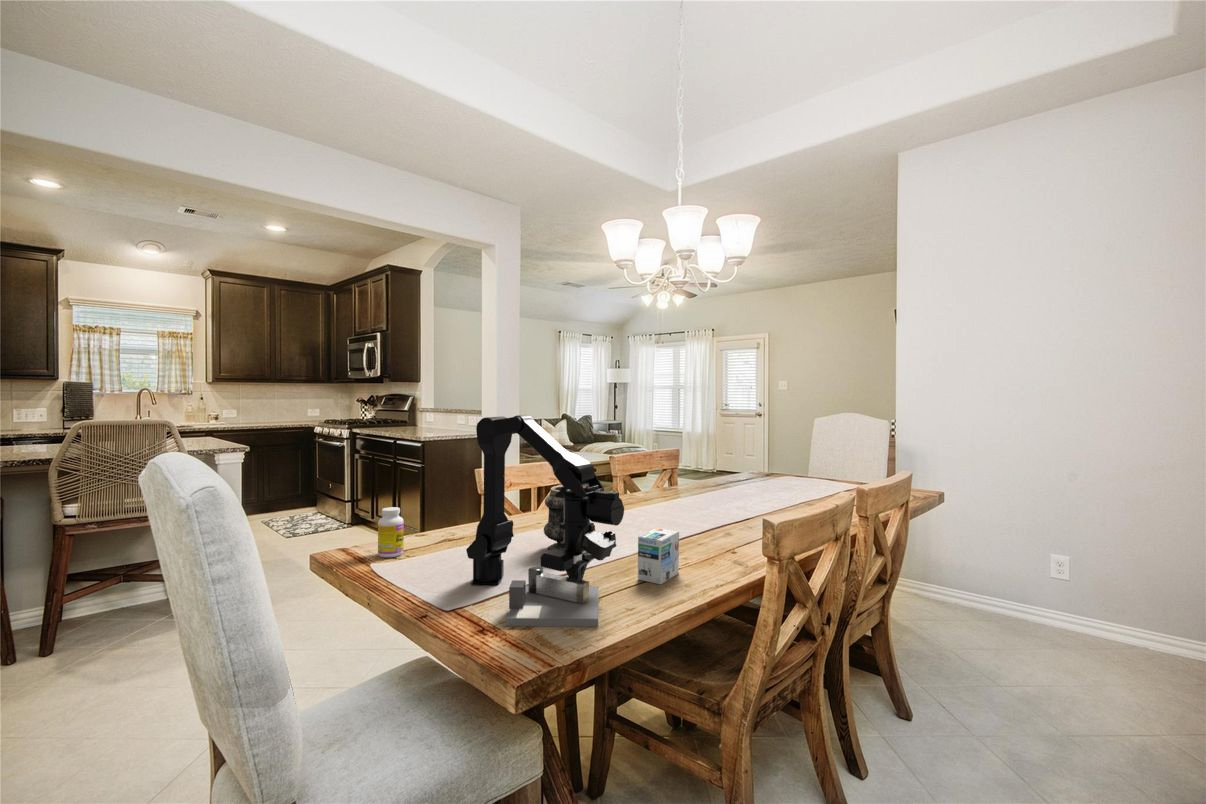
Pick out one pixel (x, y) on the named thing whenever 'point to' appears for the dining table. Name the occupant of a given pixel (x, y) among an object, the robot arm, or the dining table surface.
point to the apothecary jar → (555, 518)
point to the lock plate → (550, 608)
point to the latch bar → (557, 586)
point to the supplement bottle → (390, 533)
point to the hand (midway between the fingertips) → (576, 589)
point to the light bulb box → (658, 555)
